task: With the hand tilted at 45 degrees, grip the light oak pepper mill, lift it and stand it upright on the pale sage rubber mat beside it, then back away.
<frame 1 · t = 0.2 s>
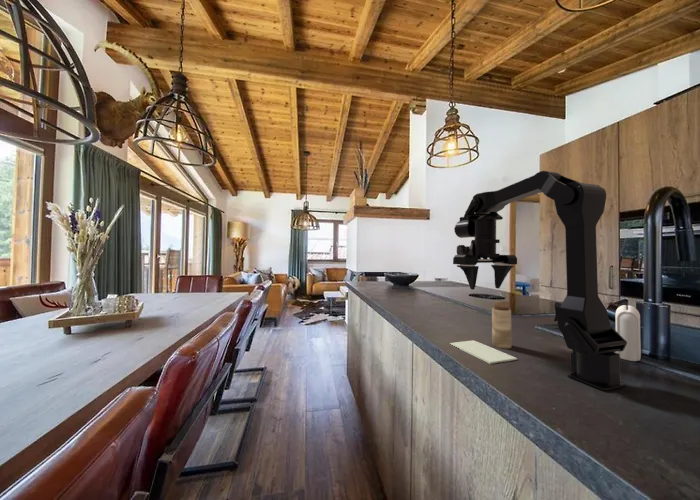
hand: (485, 288, 79), 15 cm above the countertop, tool pointing down, fingers open, 9 cm apart
sage mat: (480, 351, 69), on the countertop
white rounded-top upright: (628, 356, 66), on the countertop
pepper mill: (501, 345, 74), on the countertop
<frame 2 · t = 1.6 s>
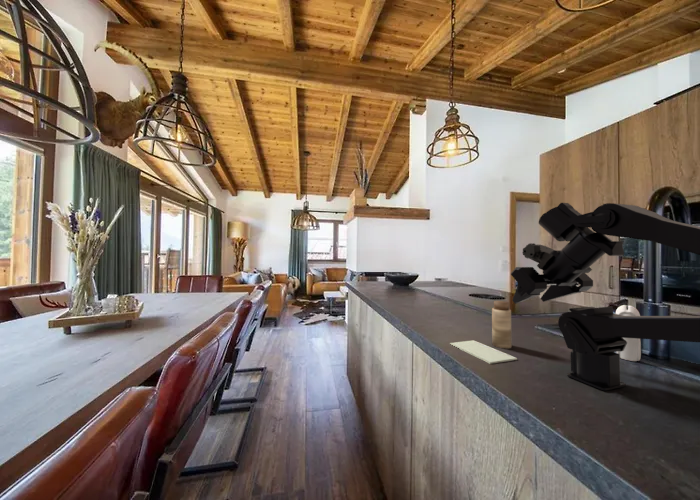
hand: (528, 301, 66), 14 cm above the countertop, tool tilted 45°, fingers open, 9 cm apart
nothing on the countertop moved.
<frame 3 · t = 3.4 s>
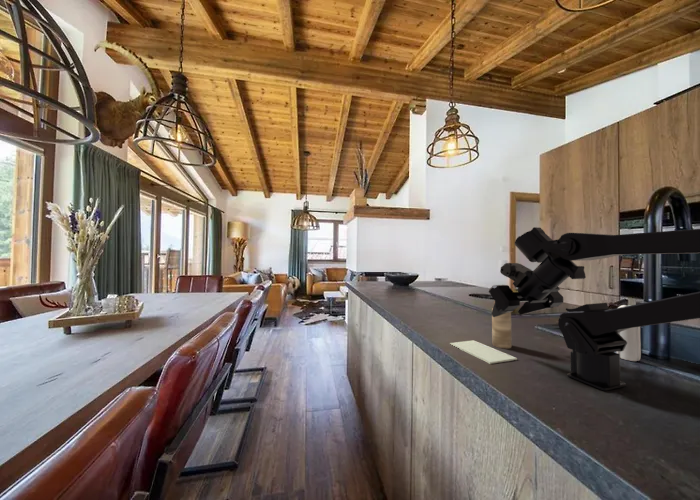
hand: (506, 314, 72), 9 cm above the countertop, tool tilted 45°, fingers open, 9 cm apart
nothing on the countertop moved.
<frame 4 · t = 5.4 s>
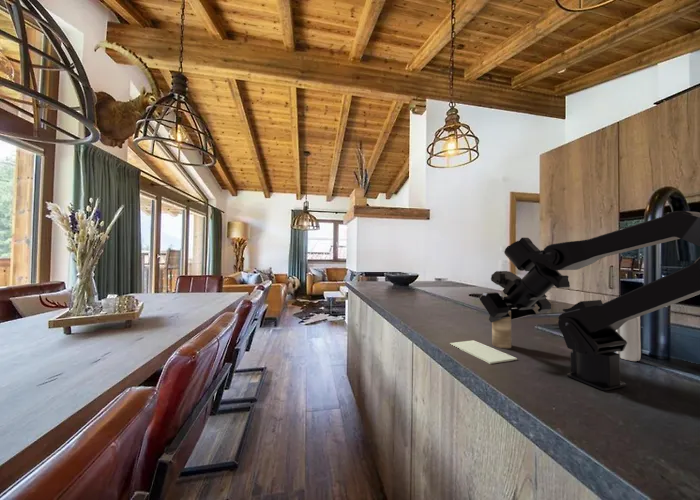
hand: (497, 320, 75), 7 cm above the countertop, tool tilted 45°, fingers closed on pepper mill, 5 cm apart
pepper mill: (501, 345, 74), on the countertop, touching gripper
everything else where it was.
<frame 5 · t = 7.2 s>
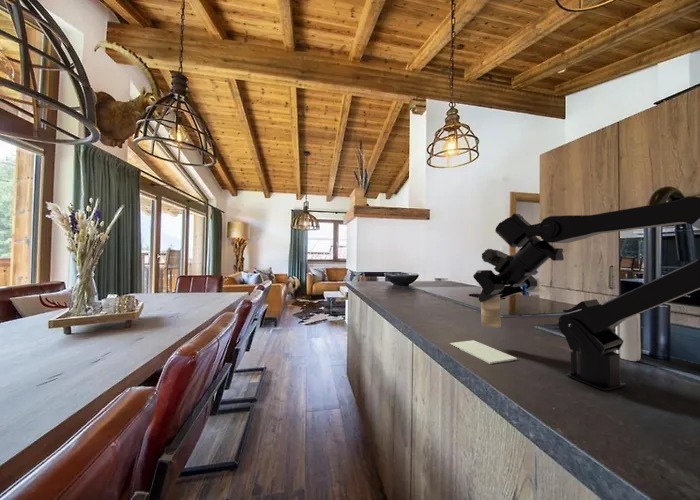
hand: (485, 300, 74), 12 cm above the countertop, tool tilted 45°, fingers closed on pepper mill, 5 cm apart
pepper mill: (490, 325, 73), point 6 cm above the countertop, touching gripper
everything else where it was.
when the fingers open (8 cm above the countertop, at t = 9.4 s): pepper mill drops 1 cm, resting on sage mat.
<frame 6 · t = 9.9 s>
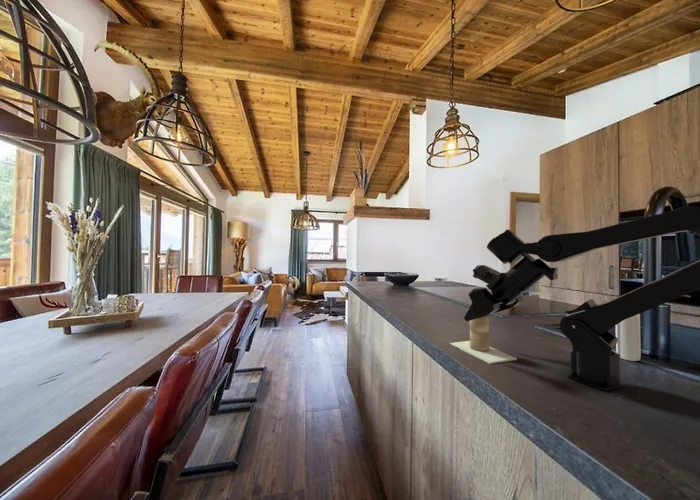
hand: (473, 317, 71), 8 cm above the countertop, tool tilted 45°, fingers open, 9 cm apart
pepper mill: (479, 348, 70), resting on sage mat
everything else where it was.
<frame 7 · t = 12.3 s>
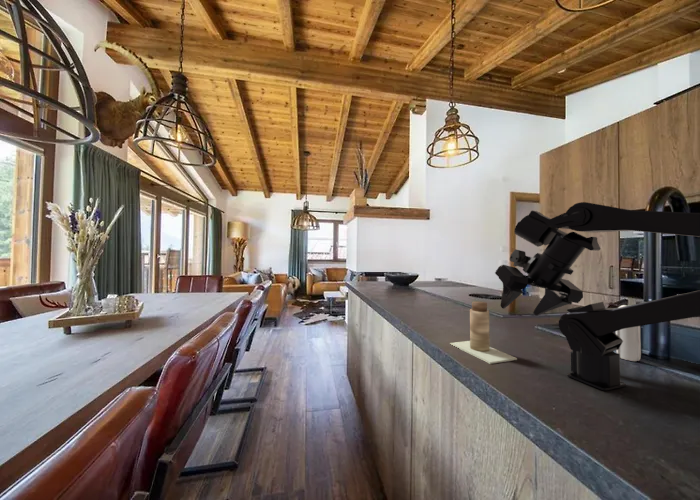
hand: (518, 310, 66), 11 cm above the countertop, tool tilted 35°, fingers open, 9 cm apart
nothing on the countertop moved.
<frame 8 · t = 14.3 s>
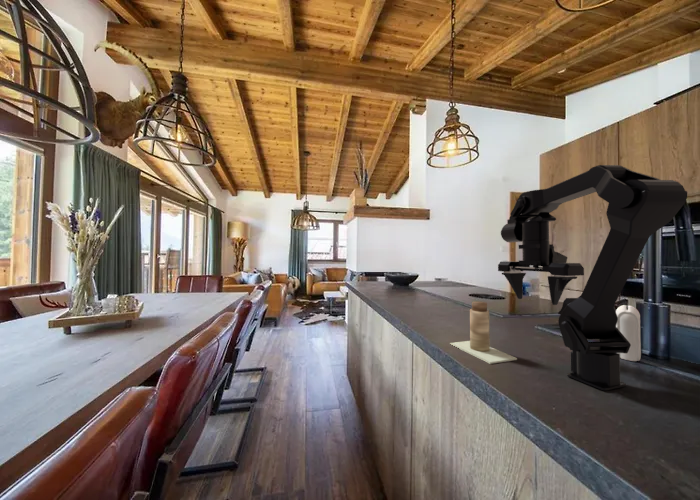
hand: (536, 301, 68), 13 cm above the countertop, tool pointing down, fingers open, 9 cm apart
nothing on the countertop moved.
at the end: pepper mill inside the target area (0.6 cm from its centre), resting on sage mat; pepper mill tilted 0°; the gripper is holding nothing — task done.
